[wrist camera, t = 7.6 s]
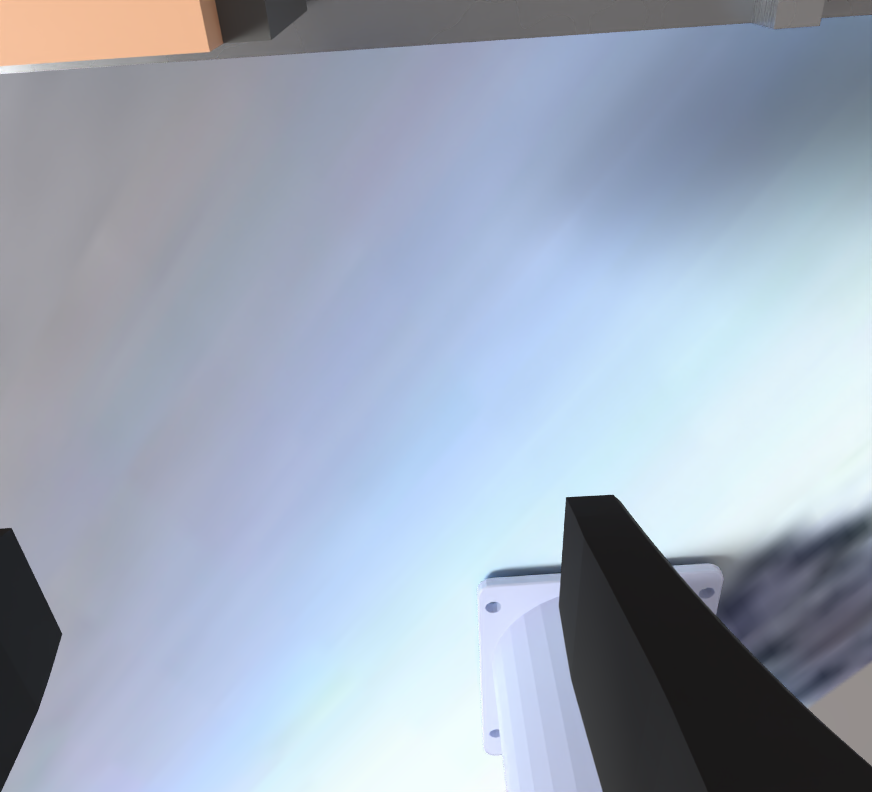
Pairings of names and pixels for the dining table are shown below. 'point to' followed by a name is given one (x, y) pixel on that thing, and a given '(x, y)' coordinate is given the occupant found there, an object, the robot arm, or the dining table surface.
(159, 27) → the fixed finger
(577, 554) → the robot arm
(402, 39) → the rail
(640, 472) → the dining table surface
